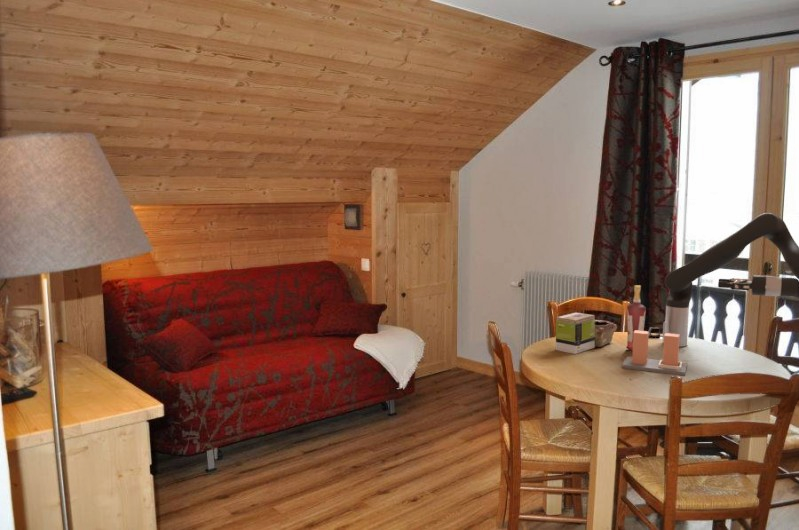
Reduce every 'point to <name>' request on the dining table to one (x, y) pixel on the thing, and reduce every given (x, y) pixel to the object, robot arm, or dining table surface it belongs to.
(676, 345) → the terracotta block
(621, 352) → the dining table surface
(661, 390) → the dining table surface
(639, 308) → the liquor
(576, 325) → the tea box
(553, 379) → the dining table surface
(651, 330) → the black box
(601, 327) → the grey textured container
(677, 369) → the charcoal board
